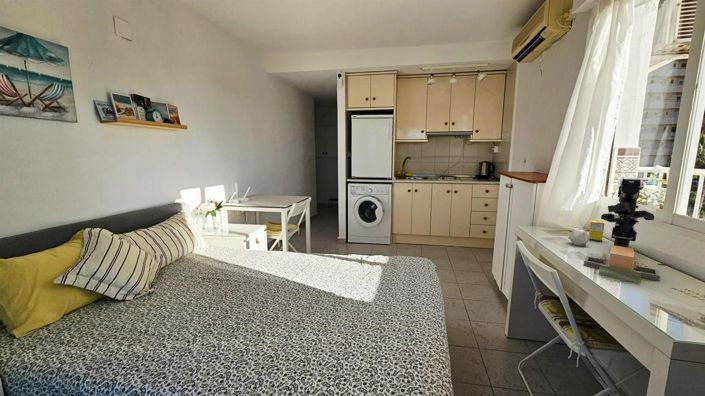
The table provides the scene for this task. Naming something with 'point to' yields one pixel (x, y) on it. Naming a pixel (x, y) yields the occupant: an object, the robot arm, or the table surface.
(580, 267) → the table surface
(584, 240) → the die
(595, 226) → the supplement box
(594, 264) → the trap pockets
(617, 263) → the orange tan rectangular block
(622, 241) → the robot arm
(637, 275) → the small wooden bench
